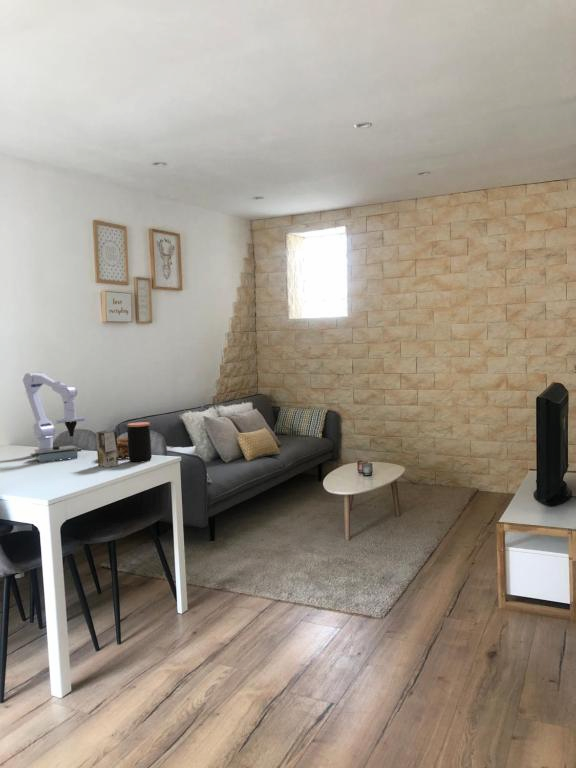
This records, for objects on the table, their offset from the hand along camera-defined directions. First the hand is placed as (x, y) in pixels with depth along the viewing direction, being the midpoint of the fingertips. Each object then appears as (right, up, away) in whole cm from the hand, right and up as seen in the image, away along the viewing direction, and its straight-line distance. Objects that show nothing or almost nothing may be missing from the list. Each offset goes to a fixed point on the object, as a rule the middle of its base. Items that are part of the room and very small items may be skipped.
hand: (71, 436), depth 327 cm
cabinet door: (-6, -7, -6) cm, 11 cm away
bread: (+30, -10, -10) cm, 33 cm away
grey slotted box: (-6, -11, -5) cm, 13 cm away
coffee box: (+28, -11, -32) cm, 44 cm away
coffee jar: (+41, -10, -22) cm, 48 cm away
